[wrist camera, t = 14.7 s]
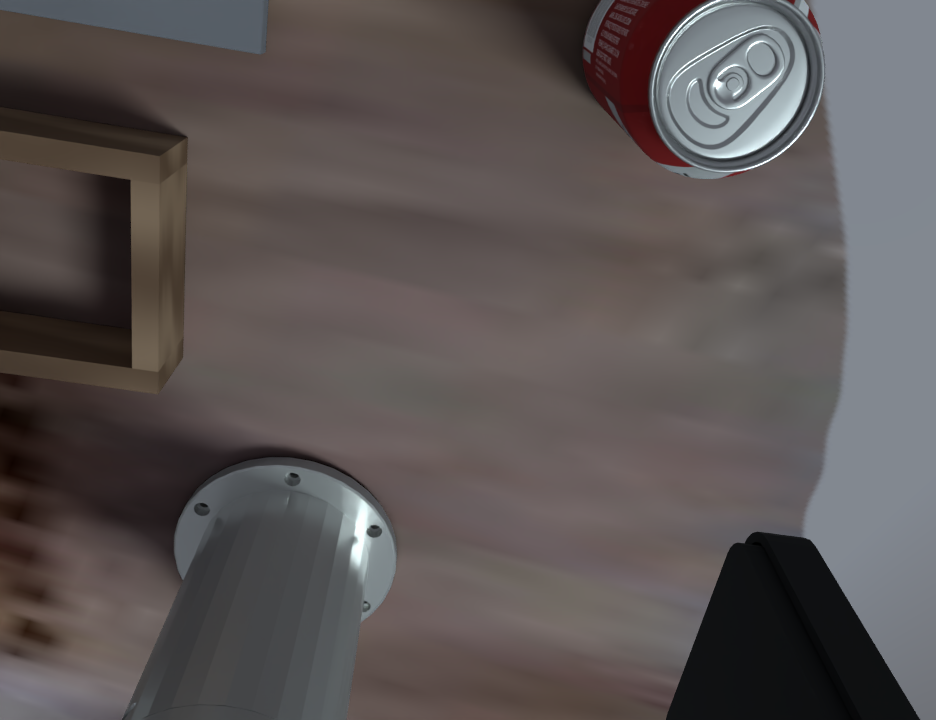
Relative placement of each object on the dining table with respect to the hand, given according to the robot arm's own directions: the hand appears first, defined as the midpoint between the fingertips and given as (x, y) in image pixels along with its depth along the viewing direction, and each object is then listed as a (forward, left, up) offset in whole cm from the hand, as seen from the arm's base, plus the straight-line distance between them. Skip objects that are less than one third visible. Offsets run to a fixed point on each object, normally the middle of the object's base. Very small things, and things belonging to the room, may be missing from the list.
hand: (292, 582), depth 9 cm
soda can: (+4, -10, -32) cm, 34 cm away
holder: (-9, +16, -32) cm, 37 cm away
